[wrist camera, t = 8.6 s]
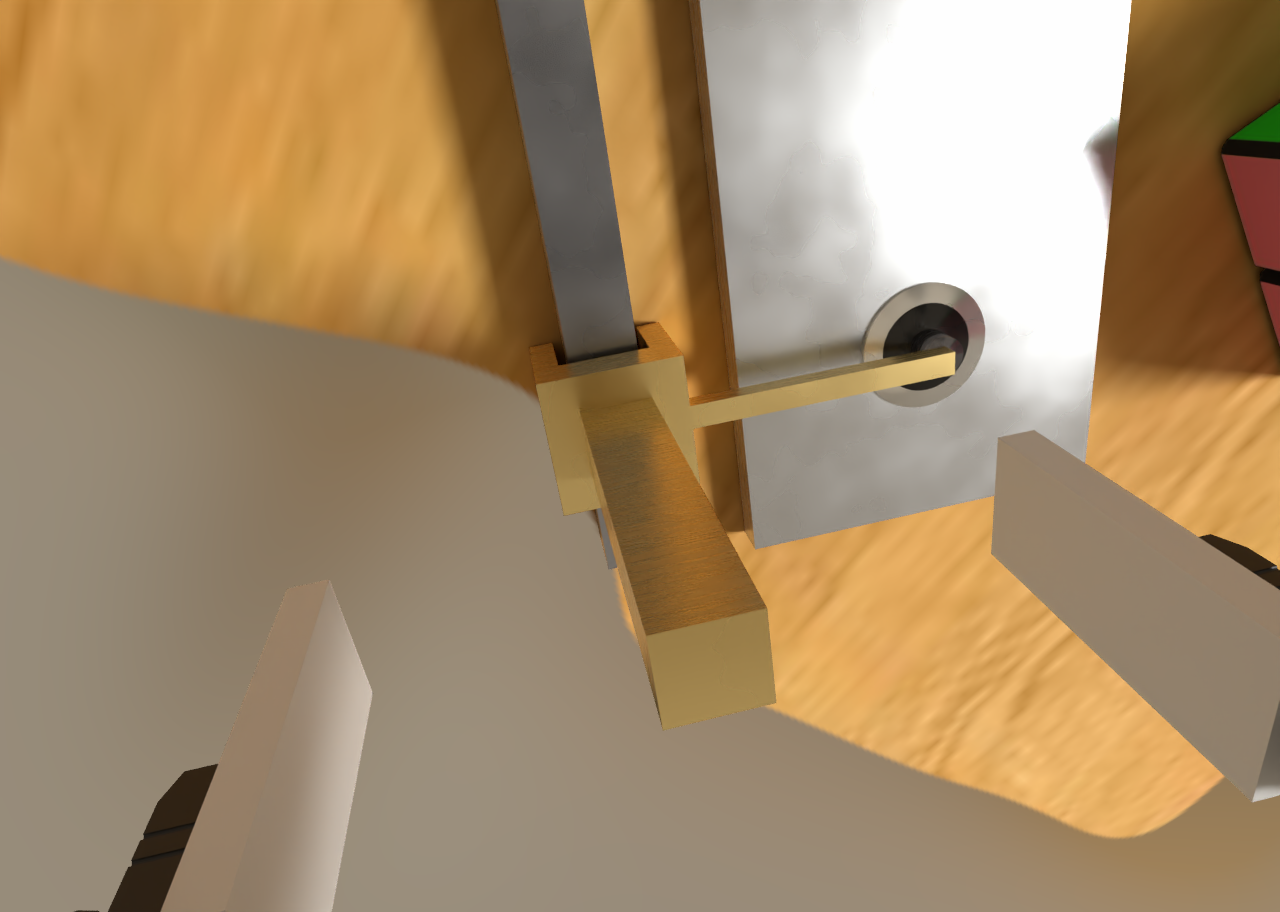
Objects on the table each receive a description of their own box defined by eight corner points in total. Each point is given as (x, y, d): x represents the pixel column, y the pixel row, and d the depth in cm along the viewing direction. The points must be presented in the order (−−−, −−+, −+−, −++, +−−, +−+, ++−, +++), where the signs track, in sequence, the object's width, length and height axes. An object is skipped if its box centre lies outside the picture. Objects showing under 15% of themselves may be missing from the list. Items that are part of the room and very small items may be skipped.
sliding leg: (529, 347, 24) (572, 598, 12) (923, 270, 26) (1315, 431, 14) (554, 465, 26) (614, 787, 14) (923, 388, 27) (1270, 624, 15)
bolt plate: (620, -643, 17) (631, -704, 15) (1160, -687, 18) (1212, -746, 16) (745, 531, 29) (757, 552, 27) (1062, 461, 30) (1087, 478, 28)
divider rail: (386, -551, 16) (201, -1763, 6) (926, -599, 18) (1627, -1692, 7) (600, 538, 28) (674, 825, 17) (922, 467, 29) (1185, 694, 18)
